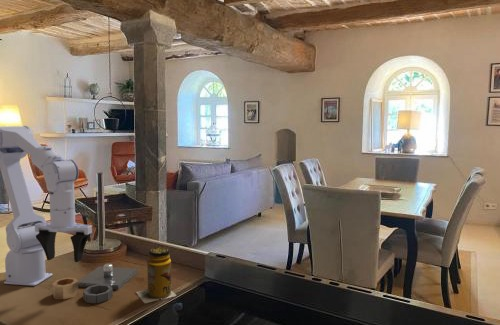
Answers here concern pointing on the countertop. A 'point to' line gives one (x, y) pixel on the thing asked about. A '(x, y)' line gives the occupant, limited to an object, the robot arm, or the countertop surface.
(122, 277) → the piston stand
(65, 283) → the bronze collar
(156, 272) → the condiment
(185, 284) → the countertop surface
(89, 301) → the grey octagonal ring
